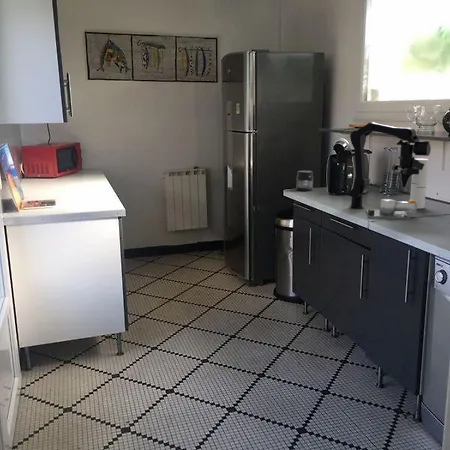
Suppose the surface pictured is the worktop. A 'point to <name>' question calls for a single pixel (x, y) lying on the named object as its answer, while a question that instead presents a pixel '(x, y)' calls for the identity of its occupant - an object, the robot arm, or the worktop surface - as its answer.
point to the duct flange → (386, 215)
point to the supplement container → (304, 181)
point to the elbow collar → (397, 206)
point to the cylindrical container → (419, 184)
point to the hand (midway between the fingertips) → (403, 187)
